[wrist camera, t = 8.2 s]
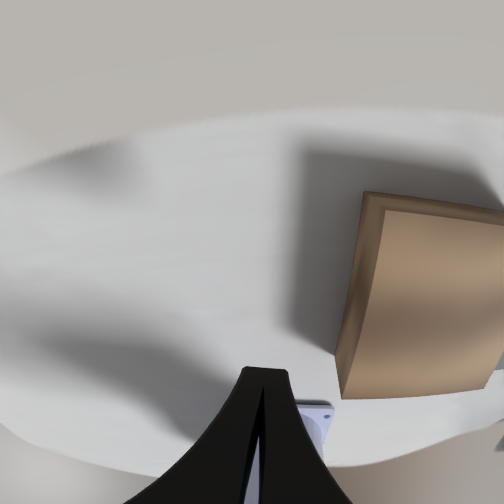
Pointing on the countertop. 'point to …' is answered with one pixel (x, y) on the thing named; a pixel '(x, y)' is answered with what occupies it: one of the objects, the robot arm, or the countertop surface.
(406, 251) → the block
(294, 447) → the robot arm
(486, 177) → the countertop surface
